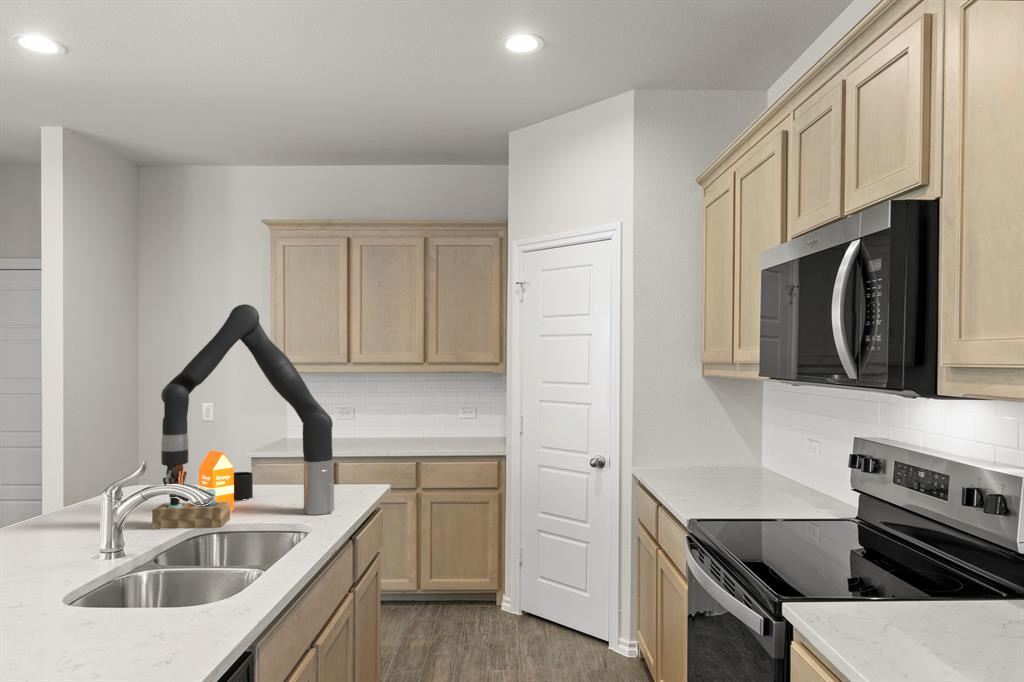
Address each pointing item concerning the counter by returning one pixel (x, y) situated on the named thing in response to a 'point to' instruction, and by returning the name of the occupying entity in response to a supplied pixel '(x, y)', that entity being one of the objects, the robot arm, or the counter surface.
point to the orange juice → (218, 476)
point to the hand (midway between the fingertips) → (175, 504)
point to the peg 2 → (214, 498)
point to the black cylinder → (243, 485)
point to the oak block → (190, 516)
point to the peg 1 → (174, 506)
